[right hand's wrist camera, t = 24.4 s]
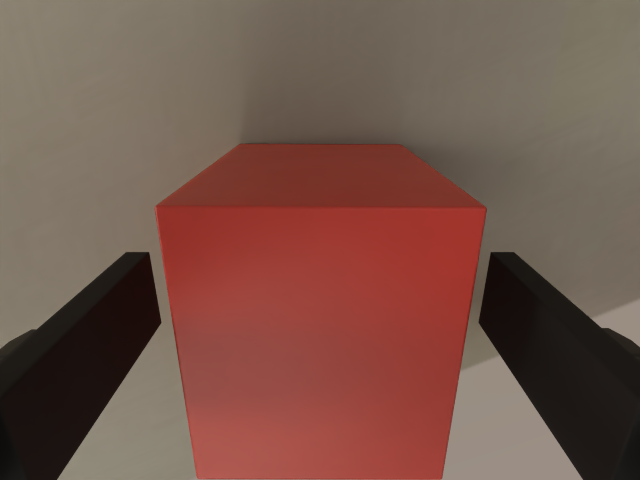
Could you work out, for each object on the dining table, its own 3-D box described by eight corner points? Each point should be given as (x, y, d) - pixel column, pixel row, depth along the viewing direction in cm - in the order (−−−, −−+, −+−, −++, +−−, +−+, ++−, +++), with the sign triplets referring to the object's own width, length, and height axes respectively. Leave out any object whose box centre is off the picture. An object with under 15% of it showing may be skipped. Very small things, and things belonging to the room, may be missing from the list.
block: (388, 307, 20) (442, 481, 11) (250, 307, 20) (196, 480, 11) (401, 144, 17) (488, 207, 8) (239, 143, 17) (152, 205, 8)
